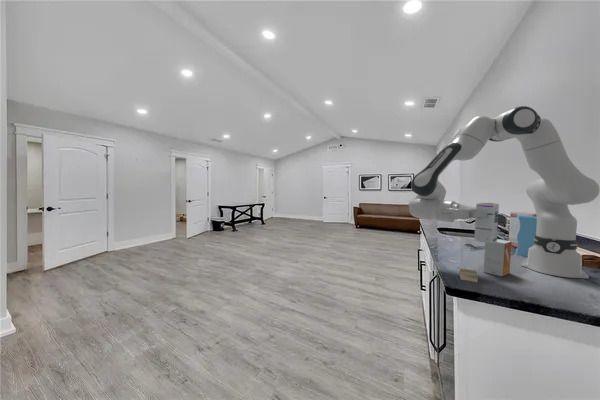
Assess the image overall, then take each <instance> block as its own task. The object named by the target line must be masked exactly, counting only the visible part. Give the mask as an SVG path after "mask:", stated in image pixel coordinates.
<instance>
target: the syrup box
mask: <svg viewBox="0 0 600 400" xmlns="http://www.w3.org/2000/svg"><path fill="white" fill-rule="evenodd" d="M499 206H500V205H499V203H493V202H492V203H491V202H480V203H476V206H475V207H476V212H485V213H488V217H486V218H483V217H475V218H474V219H475V221H474V223H475V225H474V241H475V242H478V243H479V242H480V243H484V244H485V243H491V244H493V243H494V242H497V239H498V227H499V226H498V225H499V209H500V207H499Z"/></svg>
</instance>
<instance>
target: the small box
mask: <svg viewBox="0 0 600 400" xmlns="http://www.w3.org/2000/svg"><path fill="white" fill-rule="evenodd" d="M484 244H485V245H484V257H483V258H484V260H483V273H486V274H490V275H494V276H498V277H505V276H506V275H508V274H510V271H511V256H512V247H513V246H512V241H509V240H504V239H498V238H497V242H494V243H493V244H491V243H485V242H484Z"/></svg>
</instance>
